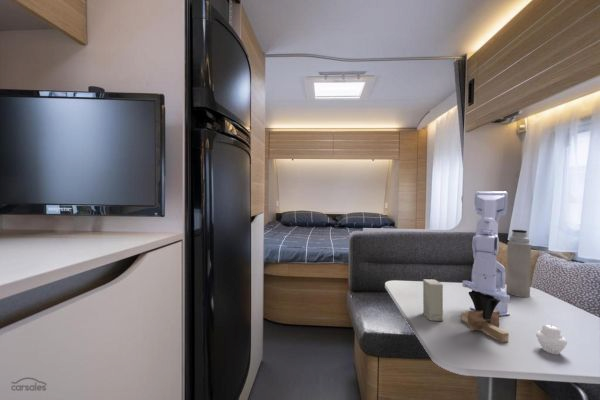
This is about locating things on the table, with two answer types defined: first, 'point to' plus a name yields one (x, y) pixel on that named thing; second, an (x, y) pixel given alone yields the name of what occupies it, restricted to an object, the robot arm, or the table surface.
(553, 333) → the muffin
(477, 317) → the tall wooden block
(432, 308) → the skincare box
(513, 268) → the thermos bottle
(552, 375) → the table surface
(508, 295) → the robot arm
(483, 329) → the oak rail
